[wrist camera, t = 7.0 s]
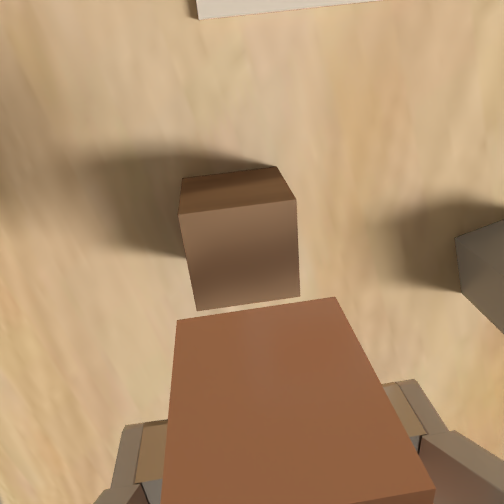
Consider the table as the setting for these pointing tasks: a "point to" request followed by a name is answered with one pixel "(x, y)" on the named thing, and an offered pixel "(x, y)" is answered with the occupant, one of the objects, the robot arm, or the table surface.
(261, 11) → the tile
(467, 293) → the grey block
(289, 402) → the salmon orange block
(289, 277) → the walnut block
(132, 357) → the table surface
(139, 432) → the robot arm
